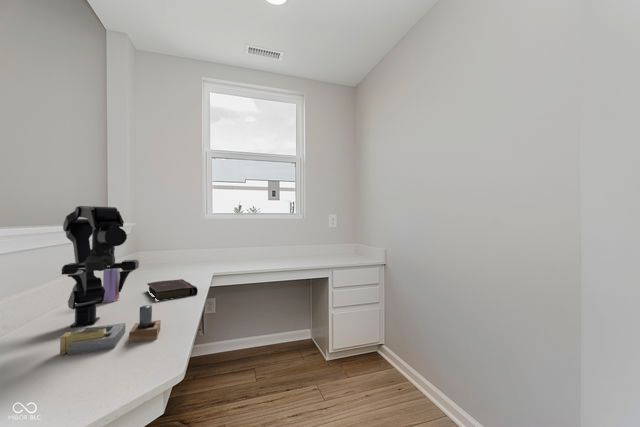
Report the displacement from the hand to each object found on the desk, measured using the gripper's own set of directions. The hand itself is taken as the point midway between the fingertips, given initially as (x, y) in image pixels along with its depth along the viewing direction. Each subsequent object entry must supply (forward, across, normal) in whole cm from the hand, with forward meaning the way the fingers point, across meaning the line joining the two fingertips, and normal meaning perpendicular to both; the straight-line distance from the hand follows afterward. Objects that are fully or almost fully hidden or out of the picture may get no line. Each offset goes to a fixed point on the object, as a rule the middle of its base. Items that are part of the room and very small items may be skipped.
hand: (102, 293), depth 86 cm
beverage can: (+13, -8, +43) cm, 46 cm away
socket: (+12, +2, -9) cm, 16 cm away
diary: (+13, +15, +47) cm, 51 cm away
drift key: (+12, 0, -12) cm, 18 cm away
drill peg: (+12, +13, -9) cm, 20 cm away
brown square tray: (+12, +14, -9) cm, 20 cm away
